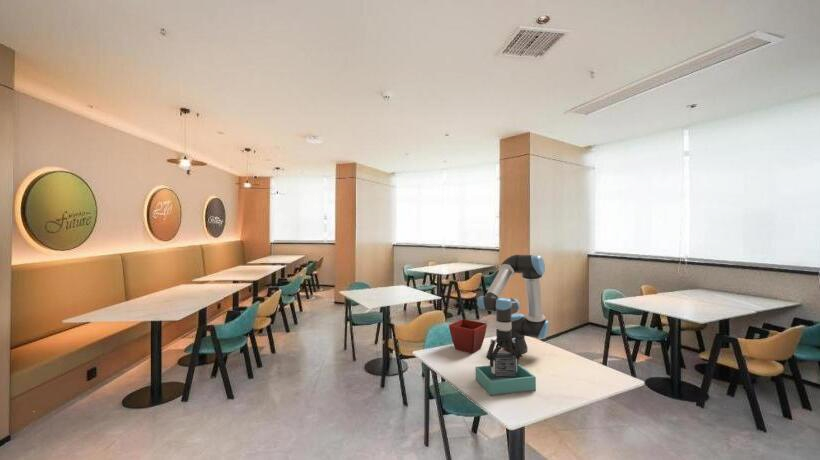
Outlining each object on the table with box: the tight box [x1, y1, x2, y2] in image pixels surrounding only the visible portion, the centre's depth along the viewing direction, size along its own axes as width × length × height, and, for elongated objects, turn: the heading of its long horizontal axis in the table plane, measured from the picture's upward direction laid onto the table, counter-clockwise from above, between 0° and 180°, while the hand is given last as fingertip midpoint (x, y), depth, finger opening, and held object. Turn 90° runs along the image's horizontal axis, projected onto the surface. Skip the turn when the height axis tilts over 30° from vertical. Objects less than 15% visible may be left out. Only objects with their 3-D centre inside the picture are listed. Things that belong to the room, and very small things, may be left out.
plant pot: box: [448, 318, 488, 354], centre depth 221 cm, size 19×19×17 cm
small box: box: [494, 352, 516, 378], centre depth 169 cm, size 11×6×10 cm, turn 84°
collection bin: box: [475, 364, 537, 397], centre depth 169 cm, size 24×18×7 cm
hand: (504, 371), depth 169 cm, fingers closed on small box, 11 cm apart
